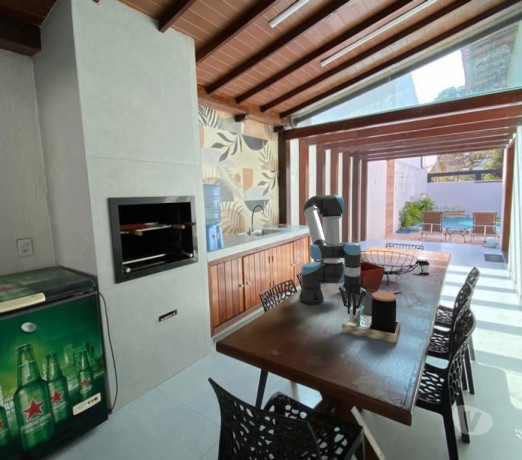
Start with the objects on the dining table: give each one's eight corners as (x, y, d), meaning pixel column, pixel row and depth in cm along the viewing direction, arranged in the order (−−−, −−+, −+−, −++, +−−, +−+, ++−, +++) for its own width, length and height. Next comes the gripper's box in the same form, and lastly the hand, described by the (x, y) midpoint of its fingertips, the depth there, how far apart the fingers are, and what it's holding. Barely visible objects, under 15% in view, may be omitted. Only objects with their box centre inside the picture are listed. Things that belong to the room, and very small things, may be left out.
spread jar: (429, 272, 236) (430, 257, 235) (428, 276, 227) (429, 261, 225) (412, 270, 243) (413, 256, 241) (411, 274, 233) (411, 259, 232)
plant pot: (385, 292, 195) (386, 267, 192) (361, 297, 188) (362, 271, 186) (365, 284, 212) (365, 261, 210) (342, 288, 205) (342, 264, 203)
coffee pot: (356, 315, 162) (356, 288, 160) (362, 308, 171) (363, 283, 169) (399, 324, 150) (400, 295, 148) (403, 316, 159) (404, 289, 157)
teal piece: (355, 332, 142) (355, 313, 140) (361, 321, 152) (361, 304, 151) (369, 334, 139) (369, 316, 137) (373, 323, 149) (374, 306, 148)
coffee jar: (398, 330, 142) (399, 294, 140) (391, 339, 134) (392, 301, 132) (375, 324, 149) (376, 289, 146) (367, 333, 141) (368, 296, 138)
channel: (342, 332, 144) (342, 324, 143) (349, 320, 157) (349, 312, 156) (396, 343, 132) (396, 335, 131) (400, 329, 145) (400, 321, 144)
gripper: (336, 275, 145) (336, 321, 149) (364, 278, 139) (363, 326, 142) (340, 271, 152) (340, 315, 155) (367, 274, 145) (366, 320, 149)
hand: (351, 320), depth 149 cm, fingers closed
